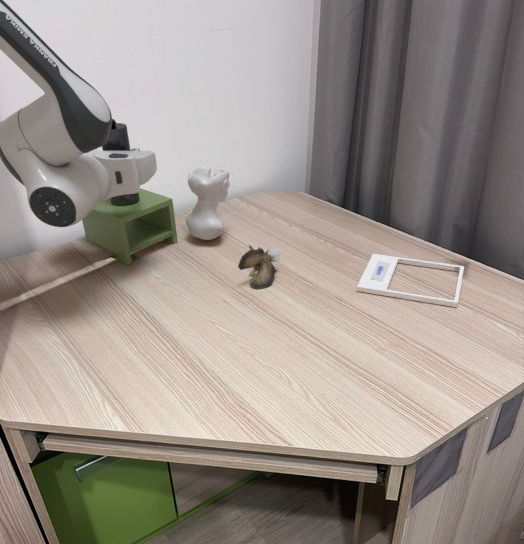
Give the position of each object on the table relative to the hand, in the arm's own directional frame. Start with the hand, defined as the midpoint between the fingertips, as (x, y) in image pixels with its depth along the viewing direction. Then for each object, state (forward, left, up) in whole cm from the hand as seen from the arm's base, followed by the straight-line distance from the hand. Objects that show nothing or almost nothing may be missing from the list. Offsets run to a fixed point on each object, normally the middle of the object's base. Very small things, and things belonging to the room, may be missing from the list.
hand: (113, 152), depth 107 cm
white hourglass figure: (+10, +15, -21) cm, 28 cm away
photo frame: (+55, +24, -21) cm, 64 cm away
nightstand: (-1, +1, -20) cm, 20 cm away
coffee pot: (-2, +3, -10) cm, 11 cm away
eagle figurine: (+31, +7, -21) cm, 38 cm away
